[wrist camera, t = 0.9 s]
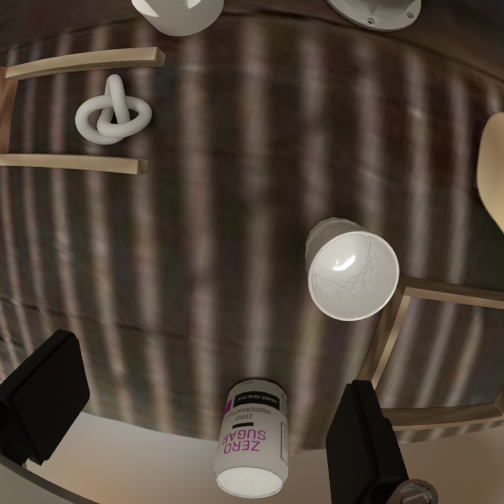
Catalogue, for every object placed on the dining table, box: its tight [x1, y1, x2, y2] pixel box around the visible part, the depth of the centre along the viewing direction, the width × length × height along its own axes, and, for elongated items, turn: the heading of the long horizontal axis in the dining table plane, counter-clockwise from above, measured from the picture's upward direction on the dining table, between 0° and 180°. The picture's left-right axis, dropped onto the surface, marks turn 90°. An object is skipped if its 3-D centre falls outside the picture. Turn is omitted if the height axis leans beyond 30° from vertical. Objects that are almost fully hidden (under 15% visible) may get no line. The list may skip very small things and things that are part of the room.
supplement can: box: [213, 379, 288, 498], centre depth 34 cm, size 8×8×15 cm
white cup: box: [305, 217, 399, 321], centre depth 30 cm, size 8×8×10 cm
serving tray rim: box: [358, 275, 504, 431], centre depth 36 cm, size 22×32×4 cm
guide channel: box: [0, 47, 166, 174], centre depth 30 cm, size 14×26×5 cm, turn 81°
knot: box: [75, 74, 152, 145], centre depth 30 cm, size 8×8×6 cm
